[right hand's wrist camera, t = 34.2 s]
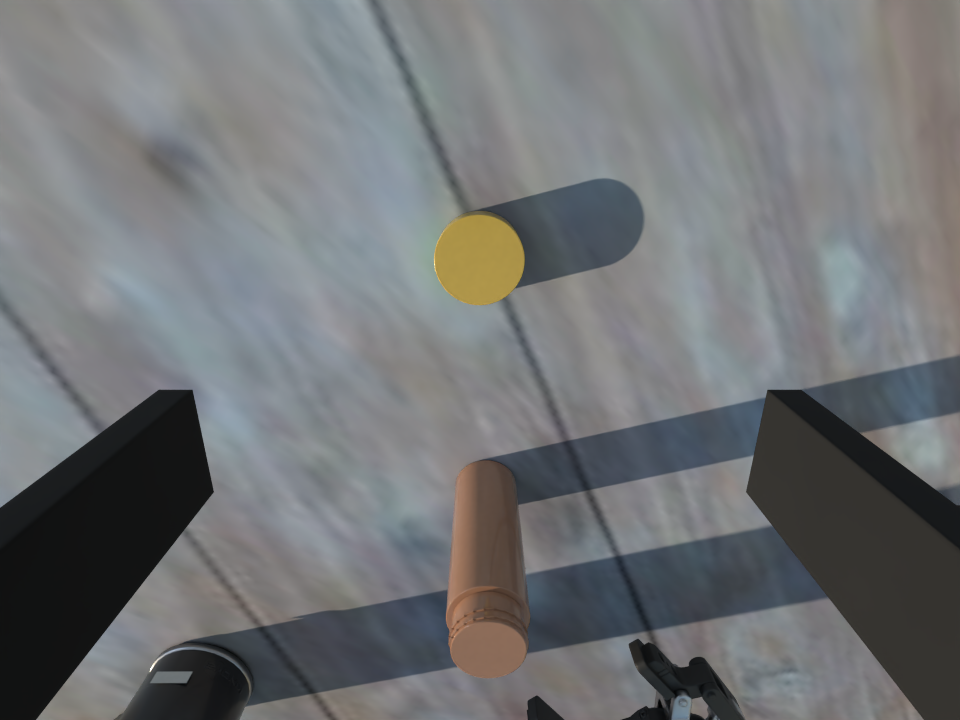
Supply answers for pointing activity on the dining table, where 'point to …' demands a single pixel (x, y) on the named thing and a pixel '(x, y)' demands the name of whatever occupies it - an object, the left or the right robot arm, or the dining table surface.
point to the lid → (479, 258)
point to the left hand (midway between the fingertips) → (582, 681)
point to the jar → (487, 574)
